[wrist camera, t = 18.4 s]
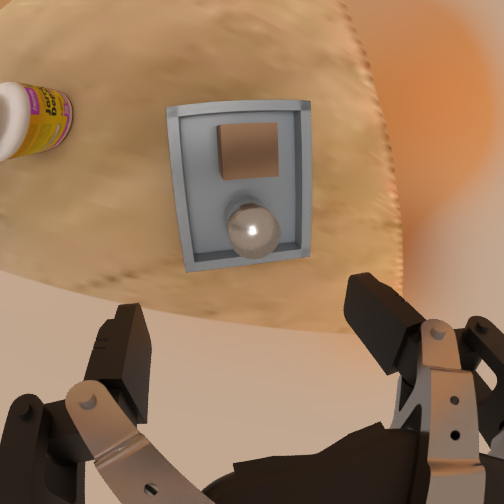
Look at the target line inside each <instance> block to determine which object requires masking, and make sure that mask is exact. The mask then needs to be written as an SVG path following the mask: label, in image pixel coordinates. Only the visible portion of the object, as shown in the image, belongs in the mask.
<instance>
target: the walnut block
mask: <svg viewBox="0 0 504 504" xmlns="http://www.w3.org/2000/svg"><path fill="white" fill-rule="evenodd" d="M216 129H217V146H218V162H219V172H220V174H221V176H222V178H223V180H235V179H248V178H262V177H279V157H278V123H277V122H269V123H238V124H222V125H218V126H216Z"/></svg>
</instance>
